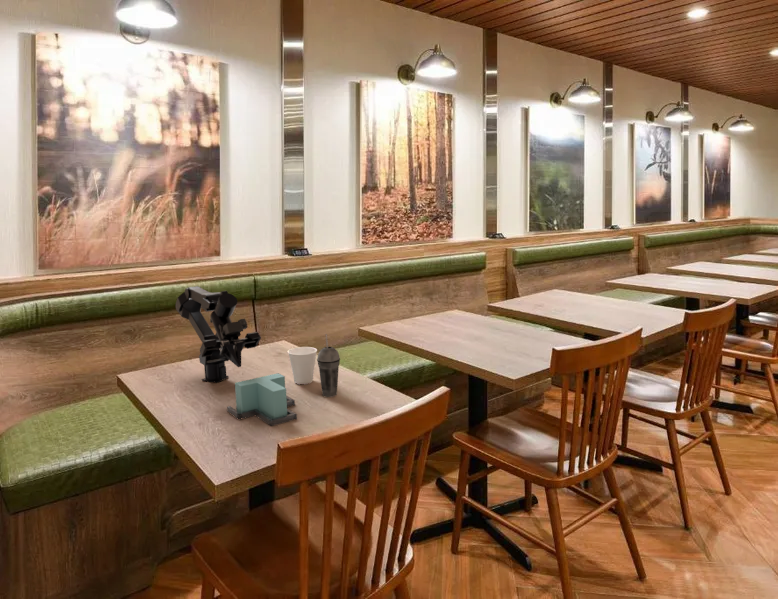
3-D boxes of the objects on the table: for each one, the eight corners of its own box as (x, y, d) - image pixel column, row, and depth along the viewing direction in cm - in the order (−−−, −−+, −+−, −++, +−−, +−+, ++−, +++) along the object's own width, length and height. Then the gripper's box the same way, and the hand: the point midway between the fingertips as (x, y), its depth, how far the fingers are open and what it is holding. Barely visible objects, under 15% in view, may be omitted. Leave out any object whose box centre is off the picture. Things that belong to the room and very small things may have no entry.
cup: (312, 387, 190) (311, 355, 188) (284, 385, 192) (282, 353, 190) (322, 378, 200) (321, 347, 198) (294, 376, 202) (293, 346, 200)
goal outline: (227, 411, 170) (226, 406, 170) (282, 397, 181) (281, 393, 181) (254, 430, 156) (254, 425, 156) (312, 414, 167) (311, 409, 167)
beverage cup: (344, 392, 186) (343, 331, 182) (335, 399, 179) (333, 336, 175) (324, 389, 188) (322, 329, 184) (314, 397, 181) (311, 335, 178)
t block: (236, 412, 170) (234, 382, 168) (279, 401, 178) (278, 373, 177) (258, 426, 159) (256, 395, 157) (302, 414, 168) (301, 384, 166)
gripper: (200, 315, 177) (217, 358, 170) (257, 307, 188) (274, 347, 182) (193, 335, 184) (208, 377, 178) (247, 326, 196) (264, 365, 189)
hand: (239, 366), depth 182 cm, fingers closed
